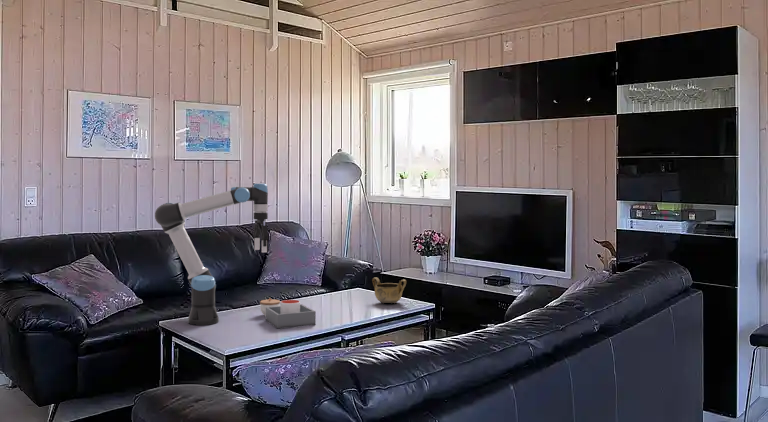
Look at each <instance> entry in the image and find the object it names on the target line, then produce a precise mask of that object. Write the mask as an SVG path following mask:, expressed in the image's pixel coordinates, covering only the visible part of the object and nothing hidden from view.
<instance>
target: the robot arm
mask: <svg viewBox="0 0 768 422" xmlns="http://www.w3.org/2000/svg"><path fill="white" fill-rule="evenodd" d="M268 194H269V193H268V184H266V183H254V184H253V186H251V187H249V186H248V187H247V186H233V187H231V188H230V190H227V191H224V192H220V193H216V194H213V195H208V196H206V197H205V196H204V197H202V198H198V199H195V200H191V201H186V202H183V203H180V202H176V203H172V202H166V203H163V204H161V205H160V206H158V207H157V208H156V210H155V211H154V219H155V221H156V223H157V224H158V225H160V227H161V228H162V230H163V232H164V233H165V234H167V235H168V236H169V238H170V240H171V241H172V243H173V246H174V248H175V249H176V252H177V253H178V256H179V257H180V260H181V261H182V263H183V266H184V267H185V269H186V271H187V273H188V276H187V280H188V283H189V284H190V286H191V309H190V312H189V315H188V319H187V323H188V324H189V323H190V324H189V325H192V324H196V325H195V326H208V325H214V324H217V323H218V322H219V321H220V319H219V314H218V312H217V308H216V288H217V284H216V283H217V282H216V278H215V277H214V276H213V275H212V273H211V272H210V270H209V268H208V267H204V264H203V261H202V260H201V259H200V256H199V254H198V253H197V250H196V248H195V246H194V244H193V242H192V240H191V238H190V236H189V235H188V232H187V230H186V228H185V225H186V222H185V220H186V219H187V218H190V217H191V218H192V217H195V216H198V215H201V214H205V213H209V212H212V211H216V210H219V209H223V208H226V207H230V206H233V205H238V204H241V203H243V204H244V203H246V202H253V204H252V205H253V209H252V210H253V219H254V228H253V234H252V236H253V237H254V250H255V251H259V250H260V248H261V253H263V254H264V253H268V240H269V233H268V226H267V223H268V222H267V221H265V220H268V218H269V217H268V216H269V213H268V208H269V204H268V199H269V198H268ZM260 241H261V242H260Z"/></svg>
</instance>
